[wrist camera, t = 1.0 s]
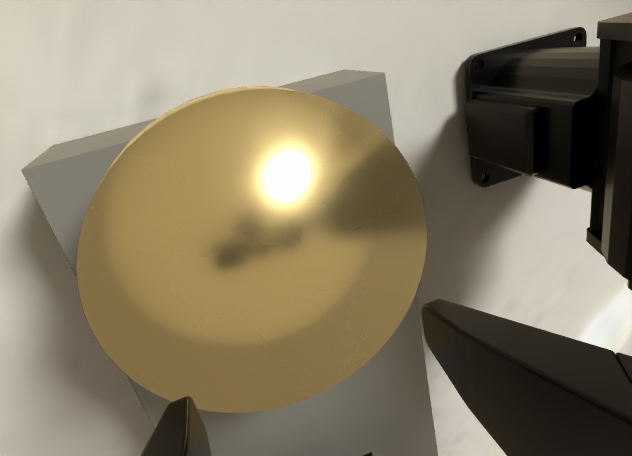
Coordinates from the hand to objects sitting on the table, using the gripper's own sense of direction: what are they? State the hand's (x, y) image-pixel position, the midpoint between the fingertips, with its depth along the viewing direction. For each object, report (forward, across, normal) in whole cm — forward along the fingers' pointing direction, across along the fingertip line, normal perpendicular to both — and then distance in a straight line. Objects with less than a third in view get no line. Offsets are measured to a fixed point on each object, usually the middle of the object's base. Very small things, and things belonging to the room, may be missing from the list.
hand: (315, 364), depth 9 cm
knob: (+9, 0, 0) cm, 9 cm away
